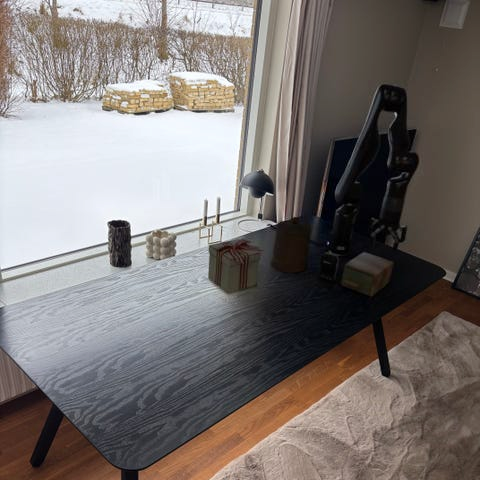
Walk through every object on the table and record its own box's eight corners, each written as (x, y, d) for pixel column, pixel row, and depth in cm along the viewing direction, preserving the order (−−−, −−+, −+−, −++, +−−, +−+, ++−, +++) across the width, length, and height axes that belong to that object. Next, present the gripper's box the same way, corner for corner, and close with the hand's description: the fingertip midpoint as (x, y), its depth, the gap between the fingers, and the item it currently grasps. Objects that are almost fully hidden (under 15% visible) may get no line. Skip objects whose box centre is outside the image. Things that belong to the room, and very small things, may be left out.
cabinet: (371, 296, 193) (376, 275, 188) (341, 285, 200) (345, 263, 195) (388, 282, 205) (394, 262, 199) (359, 272, 211) (363, 251, 206)
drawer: (362, 301, 188) (366, 283, 183) (333, 290, 194) (337, 272, 190) (385, 282, 202) (389, 265, 198) (358, 273, 209) (361, 256, 204)
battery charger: (316, 278, 204) (320, 253, 198) (321, 275, 207) (325, 250, 201) (330, 283, 200) (335, 258, 194) (335, 281, 203) (340, 256, 197)
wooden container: (311, 264, 215) (318, 217, 204) (296, 276, 204) (303, 227, 193) (281, 255, 222) (287, 209, 210) (265, 266, 211) (270, 218, 199)
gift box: (234, 298, 185) (237, 257, 176) (205, 279, 196) (206, 240, 187) (266, 286, 195) (270, 247, 186) (236, 269, 206) (239, 231, 197)
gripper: (414, 209, 177) (403, 250, 186) (376, 200, 183) (368, 240, 192) (408, 214, 172) (398, 256, 180) (370, 205, 178) (361, 246, 186)
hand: (382, 248), depth 186 cm, fingers open, 8 cm apart
